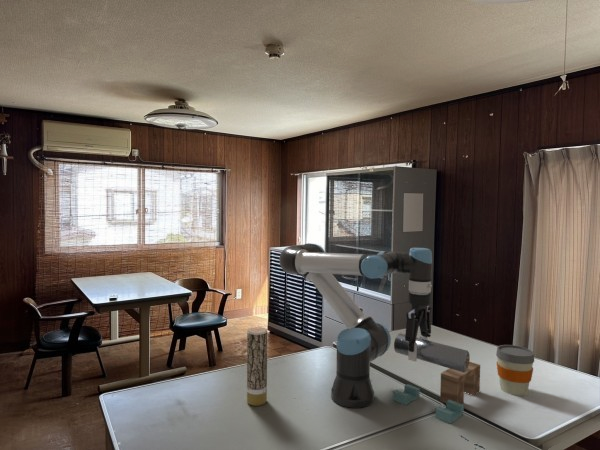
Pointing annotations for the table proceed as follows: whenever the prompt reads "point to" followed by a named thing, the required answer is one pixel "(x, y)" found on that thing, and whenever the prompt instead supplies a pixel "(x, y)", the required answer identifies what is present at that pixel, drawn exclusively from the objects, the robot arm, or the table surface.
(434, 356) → the steel axle
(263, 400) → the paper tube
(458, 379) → the brown wooden arched block
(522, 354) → the reusable coffee cup
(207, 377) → the table surface
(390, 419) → the table surface
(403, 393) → the v-blocks
